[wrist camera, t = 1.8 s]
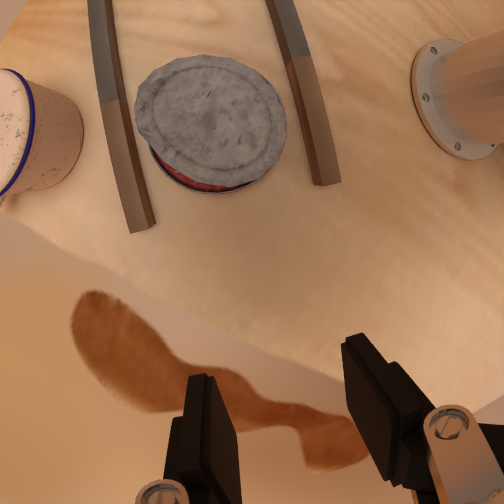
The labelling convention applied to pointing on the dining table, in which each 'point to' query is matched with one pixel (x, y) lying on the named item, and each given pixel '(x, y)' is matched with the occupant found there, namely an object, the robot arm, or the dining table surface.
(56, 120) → the teacup with lid
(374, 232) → the dining table surface
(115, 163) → the can dock
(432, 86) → the robot arm
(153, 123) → the canned food
